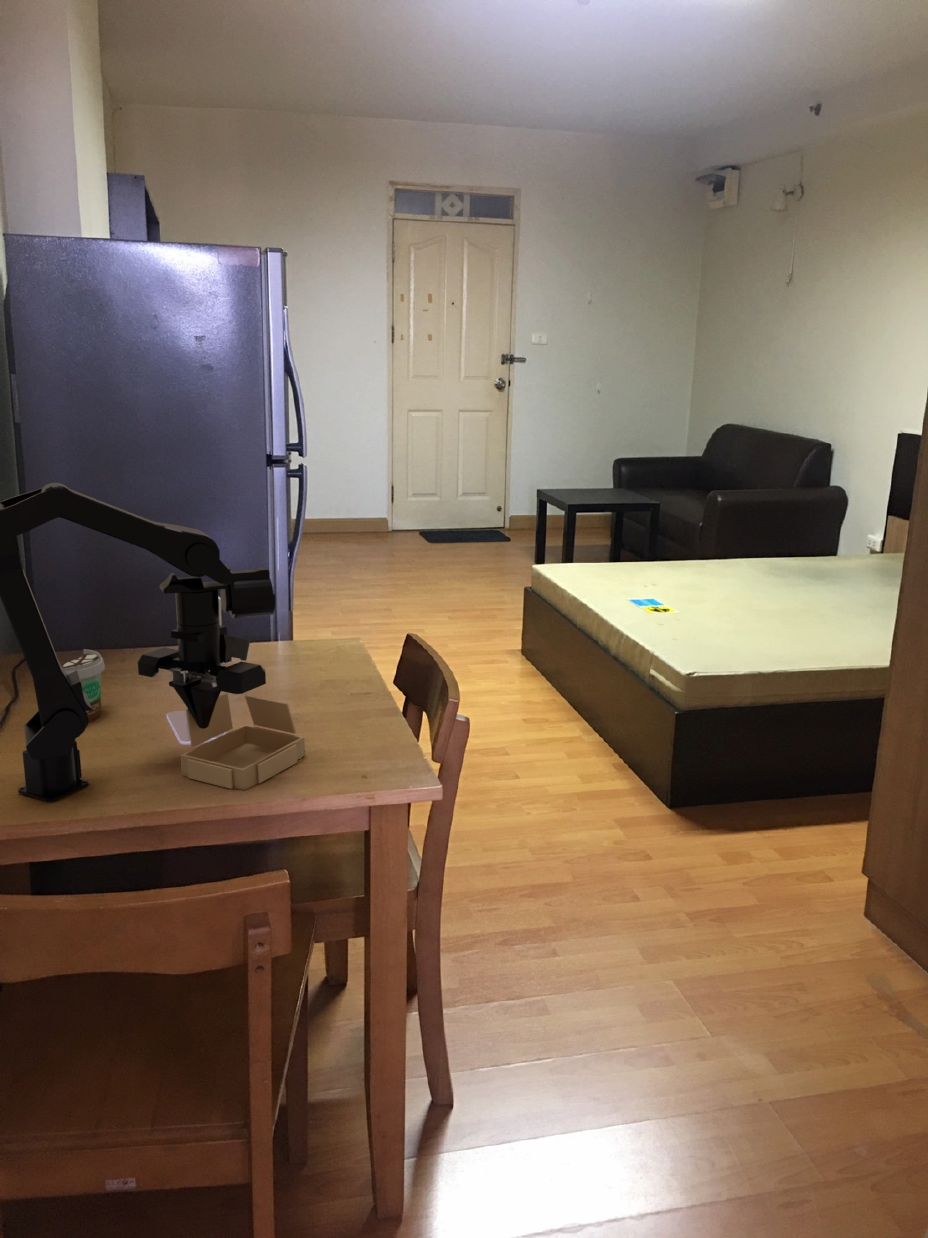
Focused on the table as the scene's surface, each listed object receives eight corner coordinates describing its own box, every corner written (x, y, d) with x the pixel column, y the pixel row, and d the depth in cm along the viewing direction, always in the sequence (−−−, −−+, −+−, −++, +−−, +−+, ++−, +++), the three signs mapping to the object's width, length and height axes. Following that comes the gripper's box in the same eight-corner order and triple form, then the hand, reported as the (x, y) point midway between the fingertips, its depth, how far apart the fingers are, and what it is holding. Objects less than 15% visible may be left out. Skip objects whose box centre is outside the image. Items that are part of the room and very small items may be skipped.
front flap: (295, 733, 144) (286, 704, 141) (254, 724, 147) (244, 695, 144) (296, 732, 144) (287, 703, 141) (255, 723, 147) (245, 694, 144)
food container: (81, 733, 151) (75, 672, 149) (45, 730, 152) (40, 669, 150) (123, 708, 163) (119, 650, 160) (90, 705, 164) (85, 648, 162)
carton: (244, 793, 131) (243, 772, 130) (178, 776, 136) (177, 756, 135) (307, 757, 143) (307, 738, 143) (245, 743, 148) (245, 724, 148)
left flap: (193, 747, 138) (187, 710, 137) (191, 747, 138) (185, 709, 137) (232, 728, 145) (227, 693, 144) (231, 728, 145) (226, 693, 144)
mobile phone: (210, 705, 163) (230, 734, 150) (211, 710, 163) (231, 740, 150) (164, 711, 160) (180, 741, 147) (164, 716, 160) (180, 748, 147)
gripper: (288, 617, 137) (291, 721, 141) (187, 602, 145) (193, 701, 149) (236, 635, 127) (241, 746, 131) (131, 617, 135) (139, 723, 139)
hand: (203, 727), depth 138 cm, fingers closed
